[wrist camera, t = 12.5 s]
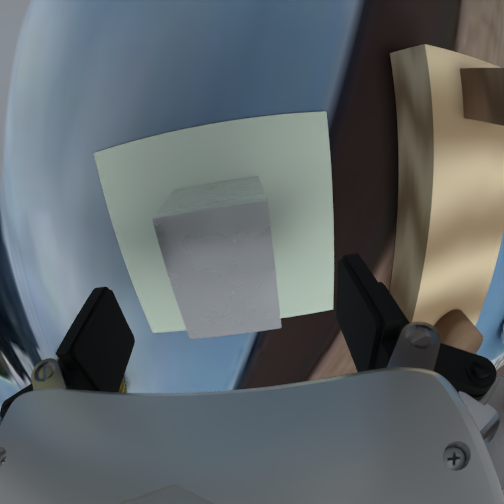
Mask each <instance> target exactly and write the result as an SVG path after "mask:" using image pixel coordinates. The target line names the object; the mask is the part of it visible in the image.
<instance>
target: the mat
mask: <svg viewBox="0 0 504 504" xmlns="http://www.w3.org/2000/svg"><path fill="white" fill-rule="evenodd" d="M94 157H95V161H96V166H97V170H98V174H99V178H100V182H101V186H102V190H103V194H104V197H105V201H106V204H107V208H108V211H109V215H110V218H111V222H112V225H113V228H114V231H115V234H116V238H117V241H118V244H119V247H120V250H121V253H122V256H123V258H124V261H125V264H126V267H127V270H128V272H129V275H130V278H131V281H132V283H133V286H134V288H135V291H136V294H137V296H138V299H139V301H140V304H141V306H142V308H143V311H144V313H145V316H146V318H147V320H148V323H149V325H150V327H151V330H152V332H153V333H160V332H172V331H183V330H186V327H185V324H184V321H183V318H182V316H181V313H180V310H179V307H178V304H177V301H176V298H175V295H174V292H173V289H172V286H171V282H170V279H169V276H168V273H167V270H166V266H165V263H164V260H163V256H162V253H161V249H160V246H159V243H158V239H157V235H156V232H155V228H154V224H153V221H152V218H153V217H154V216H155V214H156V213H157V211H158V210H159V209H160V207H161V206H162V205H163V203H164V202H165V201H166V199H167V198H168V197H169V195H170V194H171V193H172V191H173V190H174V189H179V188H185V187H190V186H196V185H202V184H207V183H213V182H219V181H226V180H232V179H239V178H246V177H253V176H259V179H260V182H261V184H262V187H263V190H264V192H265V195H266V198H267V200H268V209H269V217H270V226H271V234H272V243H273V252H274V261H275V270H276V279H277V289H278V298H279V308H280V318H286V317H292V316H298V315H304V314H310V313H316V312H321V311H327V310H332V309H333V293H334V221H333V193H332V174H331V158H330V145H329V133H328V123H327V113H326V111H322V112H304V113H291V114H280V115H270V116H261V117H253V118H245V119H238V120H231V121H225V122H219V123H213V124H207V125H202V126H196V127H191V128H186V129H182V130H177V131H172V132H168V133H163V134H159V135H155V136H151V137H147V138H143V139H139V140H135V141H132V142H128V143H125V144H121V145H118V146H114V147H111V148H108V149H104V150H101V151H98V152H95V153H94Z"/></svg>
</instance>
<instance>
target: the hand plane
mask: <svg viewBox="0 0 504 504" xmlns="http://www.w3.org/2000/svg"><path fill="white" fill-rule="evenodd" d="M390 58H391V65H392V72H393V80H394V89H395V99H396V111H397V127H398V155H399V182H398V211H397V227H396V240H395V251H394V260H393V269H392V277H391V284H390V291H389V292H390V294H391V295H392V297H393V298H394V300H395V301H396V303H397V304H398V306H399V307H400V309H401V310H402V312H403V313H404V315H405V316H406V318H407V319H408V321H409V322H410V323H411V322H417V321H421V322H426V323H429V324H431V325H433V326H434V327H435V328H436V329H437V330H438V331H439V333H440V335H441V343H443V344H446V345H449V346H452V347H455V348H458V349H461V350H464V351H467V352H470V353H473V354H476V352H477V351H478V349H479V348H480V346H481V344H482V341H483V336H482V334H481V333H480V332H479V330H478V329H477V328H476V327H475V325H476V323H477V320H478V318H479V315H480V312H481V309H482V307H483V304H484V301H485V298H486V295H487V292H488V289H489V286H490V282H491V279H492V276H493V272H494V269H495V265H496V261H497V257H498V253H499V249H500V245H501V240H502V235H503V231H504V68H501V67H498V66H496V65H493V64H490V63H488V62H485V61H482V60H479V59H476V58H473V57H470V56H467V55H464V54H461V53H457V52H454V51H450V50H447V49H443V48H439V47H435V46H431V45H426V44H423V45H419V46H415V47H411V48H407V49H403V50H400V51H396V52H392V53H390Z"/></svg>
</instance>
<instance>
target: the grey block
mask: <svg viewBox="0 0 504 504" xmlns="http://www.w3.org/2000/svg"><path fill="white" fill-rule="evenodd" d="M152 221H153V224H154V228H155V232H156V235H157V239H158V243H159V246H160V249H161V253H162V256H163V260H164V263H165V266H166V270H167V273H168V276H169V279H170V282H171V286H172V289H173V292H174V295H175V298H176V301H177V304H178V307H179V310H180V313H181V316H182V318H183V321H184V324H185V327H186V330H187V333H188V335H189V338H190V339H197V338H207V337H217V336H225V335H234V334H242V333H250V332H257V331H264V330H271V329H278V328H281V318H280V308H279V298H278V289H277V279H276V270H275V261H274V252H273V243H272V234H271V226H270V217H269V209H268V200H267V198H266V195H265V192H264V190H263V187H262V184H261V182H260V179H259V176H253V177H246V178H239V179H232V180H226V181H219V182H213V183H207V184H202V185H196V186H190V187H185V188H179V189H174V190H173V191H172V193H171V194H170V195H169V197H168V198H167V199H166V201H165V202H164V203H163V205H162V206H161V207H160V209H159V210H158V211H157V213H156V214H155V216H154V217H153V218H152Z"/></svg>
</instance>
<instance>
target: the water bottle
mask: <svg viewBox="0 0 504 504" xmlns="http://www.w3.org/2000/svg"><path fill="white" fill-rule="evenodd" d="M501 338H502V341H503V344H504V324H503V331H502V333H501Z"/></svg>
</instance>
